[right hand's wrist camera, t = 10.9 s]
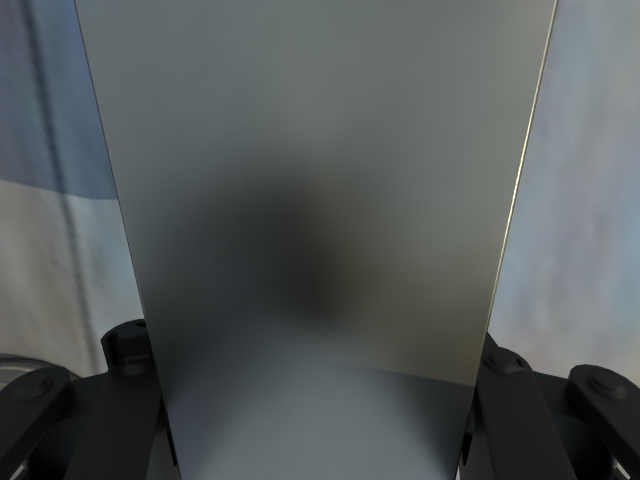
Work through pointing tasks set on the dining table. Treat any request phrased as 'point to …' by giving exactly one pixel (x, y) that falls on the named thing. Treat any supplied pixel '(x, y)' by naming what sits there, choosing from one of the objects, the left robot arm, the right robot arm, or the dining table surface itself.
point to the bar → (316, 217)
